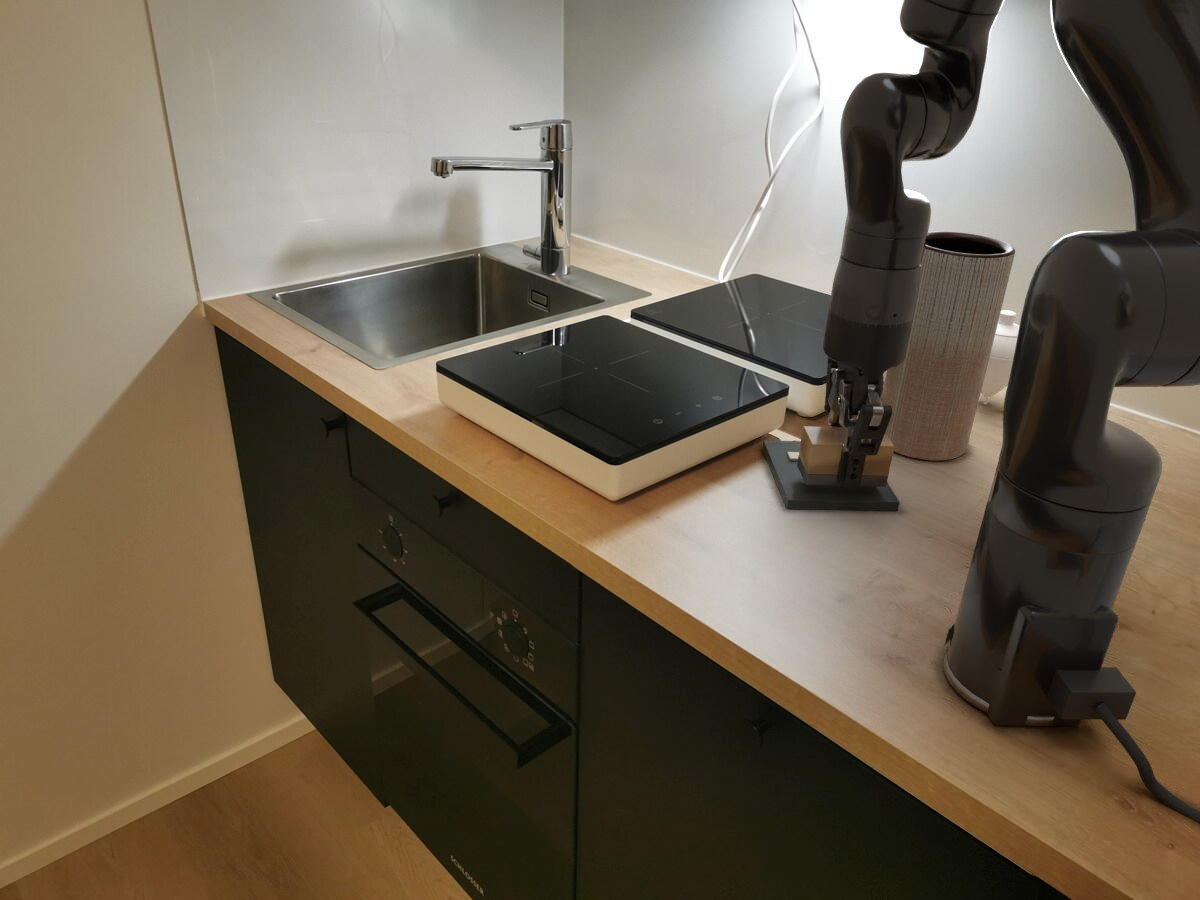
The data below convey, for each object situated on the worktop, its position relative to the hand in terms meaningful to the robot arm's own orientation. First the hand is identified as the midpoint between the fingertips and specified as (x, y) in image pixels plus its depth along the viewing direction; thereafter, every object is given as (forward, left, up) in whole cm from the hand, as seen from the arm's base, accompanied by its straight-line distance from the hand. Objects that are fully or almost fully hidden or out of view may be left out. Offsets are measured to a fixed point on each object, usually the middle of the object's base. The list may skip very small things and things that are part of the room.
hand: (841, 471), depth 90 cm
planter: (+12, -13, -3) cm, 18 cm away
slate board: (+3, 0, -2) cm, 4 cm away
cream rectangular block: (+6, +2, -1) cm, 6 cm away
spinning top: (+23, -25, -3) cm, 34 cm away
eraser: (0, 0, 0) cm, 0 cm away
